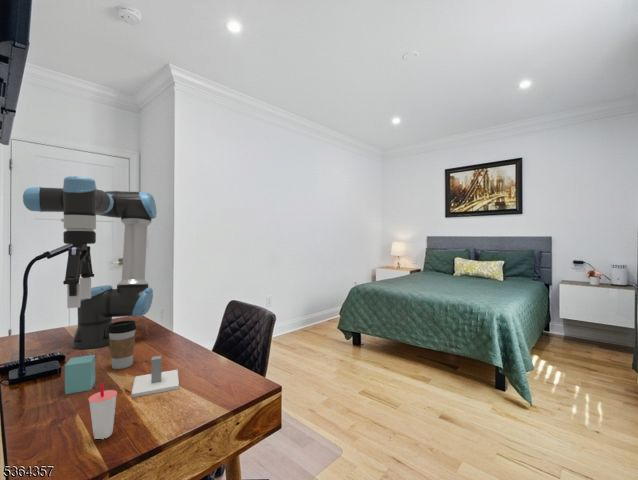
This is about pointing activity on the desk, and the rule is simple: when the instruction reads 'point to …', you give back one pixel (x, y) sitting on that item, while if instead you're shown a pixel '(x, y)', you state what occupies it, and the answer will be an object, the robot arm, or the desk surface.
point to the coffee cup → (122, 343)
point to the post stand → (155, 380)
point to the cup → (102, 412)
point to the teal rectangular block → (79, 374)
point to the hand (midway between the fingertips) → (80, 302)
